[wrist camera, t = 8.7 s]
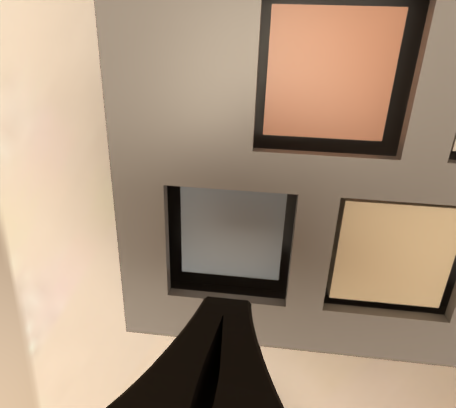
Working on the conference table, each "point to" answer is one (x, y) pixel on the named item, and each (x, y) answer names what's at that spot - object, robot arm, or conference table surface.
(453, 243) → the key sand
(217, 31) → the grey sorting tray
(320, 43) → the key terracotta
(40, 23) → the conference table surface
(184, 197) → the key slate
